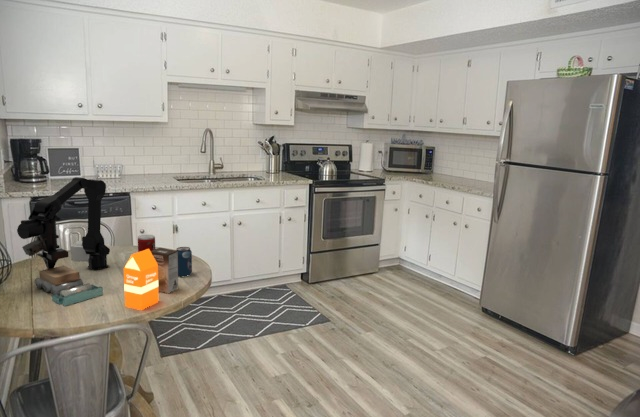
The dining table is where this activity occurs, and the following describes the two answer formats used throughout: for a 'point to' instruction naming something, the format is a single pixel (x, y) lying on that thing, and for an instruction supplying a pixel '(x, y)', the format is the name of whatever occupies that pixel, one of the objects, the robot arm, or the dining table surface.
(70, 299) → the roller bed
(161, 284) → the coffee box
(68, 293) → the roller
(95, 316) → the dining table surface
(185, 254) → the soda can
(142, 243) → the canned food
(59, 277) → the slab
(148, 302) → the orange juice
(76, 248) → the lumpy-topped squat cylinder
